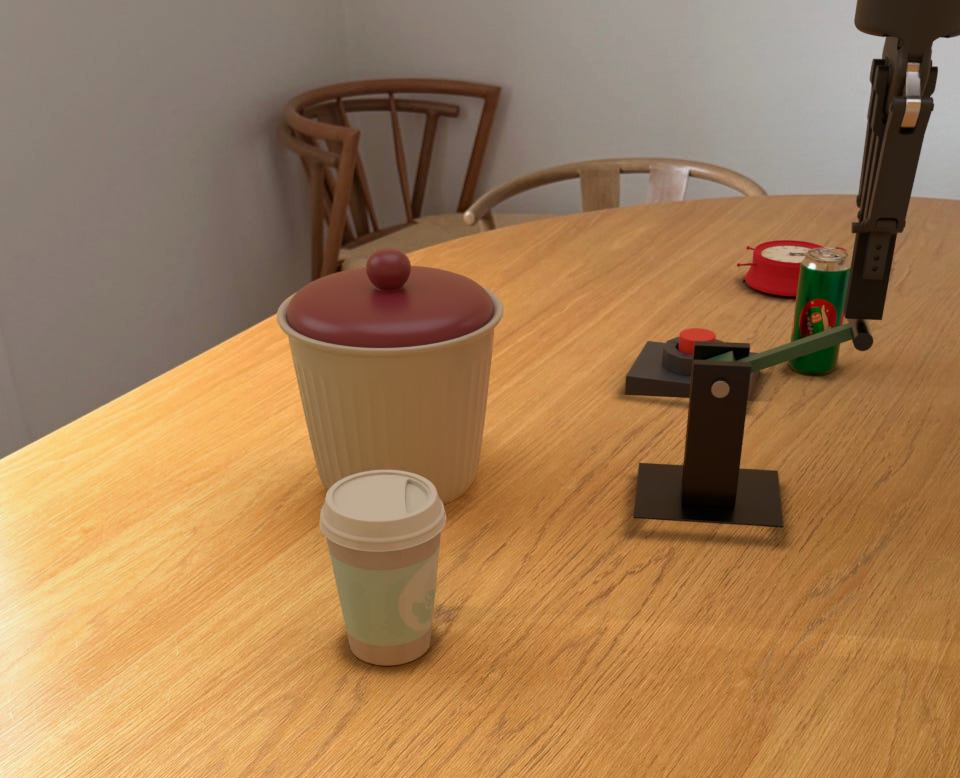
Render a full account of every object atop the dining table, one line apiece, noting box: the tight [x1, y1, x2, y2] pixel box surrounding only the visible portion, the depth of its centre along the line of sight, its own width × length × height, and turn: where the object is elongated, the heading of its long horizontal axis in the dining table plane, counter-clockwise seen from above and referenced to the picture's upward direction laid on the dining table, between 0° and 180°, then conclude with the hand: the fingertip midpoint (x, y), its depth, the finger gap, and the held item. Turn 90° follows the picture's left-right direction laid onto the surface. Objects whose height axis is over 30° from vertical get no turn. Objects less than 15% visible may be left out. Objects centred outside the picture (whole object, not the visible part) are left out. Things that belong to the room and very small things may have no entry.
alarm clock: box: [736, 239, 848, 297], centre depth 152 cm, size 10×6×15 cm
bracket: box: [633, 341, 784, 528], centre depth 103 cm, size 12×10×14 cm
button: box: [678, 327, 717, 355], centre depth 126 cm, size 4×4×2 cm
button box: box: [624, 336, 761, 402], centre depth 127 cm, size 12×10×4 cm
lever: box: [707, 319, 874, 373], centre depth 98 cm, size 13×6×2 cm, turn 81°
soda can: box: [787, 247, 851, 376], centre depth 128 cm, size 5×5×12 cm
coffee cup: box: [318, 470, 447, 667], centre depth 87 cm, size 8×8×12 cm
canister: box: [276, 247, 504, 506], centre depth 104 cm, size 18×18×21 cm
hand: (862, 315), depth 96 cm, fingers closed
